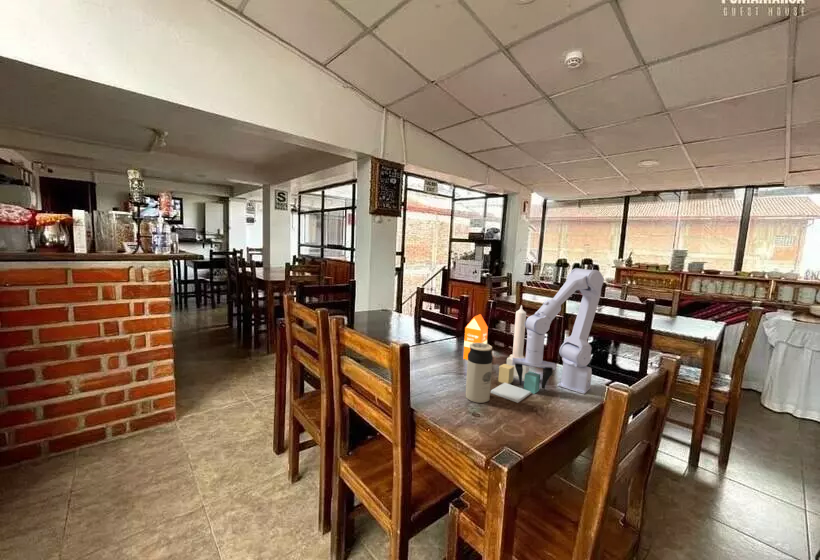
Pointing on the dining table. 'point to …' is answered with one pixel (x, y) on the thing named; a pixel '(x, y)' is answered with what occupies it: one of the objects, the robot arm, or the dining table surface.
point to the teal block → (532, 382)
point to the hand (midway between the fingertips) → (531, 386)
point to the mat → (511, 392)
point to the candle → (519, 334)
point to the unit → (525, 370)
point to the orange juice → (475, 333)
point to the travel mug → (479, 372)
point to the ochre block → (506, 373)
